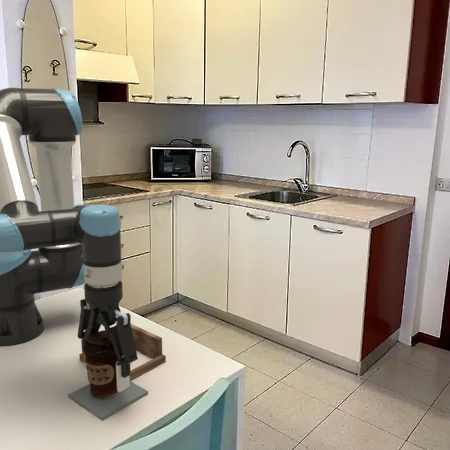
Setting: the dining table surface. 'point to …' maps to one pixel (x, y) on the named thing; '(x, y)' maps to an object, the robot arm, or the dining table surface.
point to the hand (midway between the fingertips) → (107, 379)
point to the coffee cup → (101, 364)
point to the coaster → (107, 400)
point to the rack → (142, 350)
